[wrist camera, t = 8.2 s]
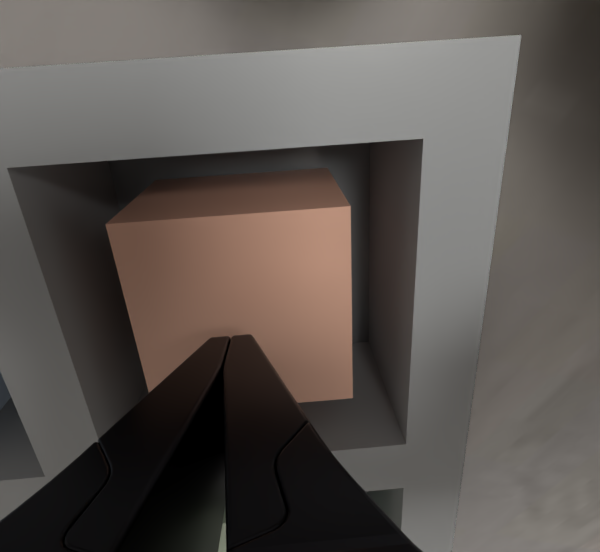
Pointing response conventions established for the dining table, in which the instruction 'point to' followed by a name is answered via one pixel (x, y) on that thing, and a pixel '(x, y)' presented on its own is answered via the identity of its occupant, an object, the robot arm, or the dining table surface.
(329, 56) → the keypad
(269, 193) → the key terracotta
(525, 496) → the dining table surface
